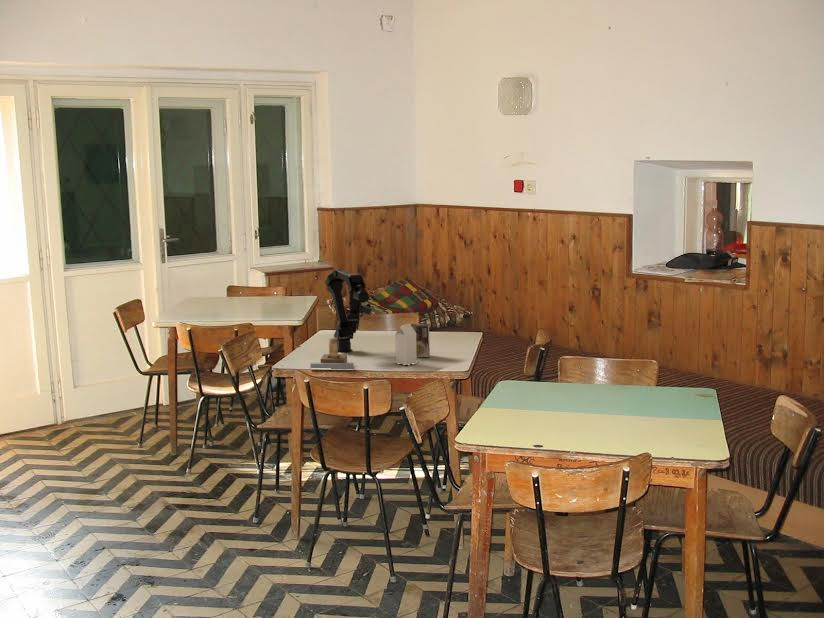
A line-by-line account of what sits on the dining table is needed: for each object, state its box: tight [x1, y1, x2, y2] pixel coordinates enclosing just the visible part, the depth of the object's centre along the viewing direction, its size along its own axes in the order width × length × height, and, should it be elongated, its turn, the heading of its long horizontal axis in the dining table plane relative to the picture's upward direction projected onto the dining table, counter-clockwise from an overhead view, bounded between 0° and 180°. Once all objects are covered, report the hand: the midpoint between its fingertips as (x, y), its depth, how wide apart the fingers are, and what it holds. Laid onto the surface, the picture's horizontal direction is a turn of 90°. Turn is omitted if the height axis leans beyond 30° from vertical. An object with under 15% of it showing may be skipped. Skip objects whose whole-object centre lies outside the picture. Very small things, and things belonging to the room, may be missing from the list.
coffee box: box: [410, 323, 431, 358], centre depth 469 cm, size 9×6×16 cm
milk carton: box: [394, 323, 418, 366], centre depth 454 cm, size 7×7×19 cm
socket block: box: [320, 353, 348, 363], centre depth 451 cm, size 11×11×5 cm
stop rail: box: [309, 362, 355, 370], centre depth 445 cm, size 2×20×4 cm, turn 87°
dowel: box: [328, 337, 339, 358], centre depth 450 cm, size 4×4×13 cm
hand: (355, 331), depth 471 cm, fingers open, 9 cm apart
